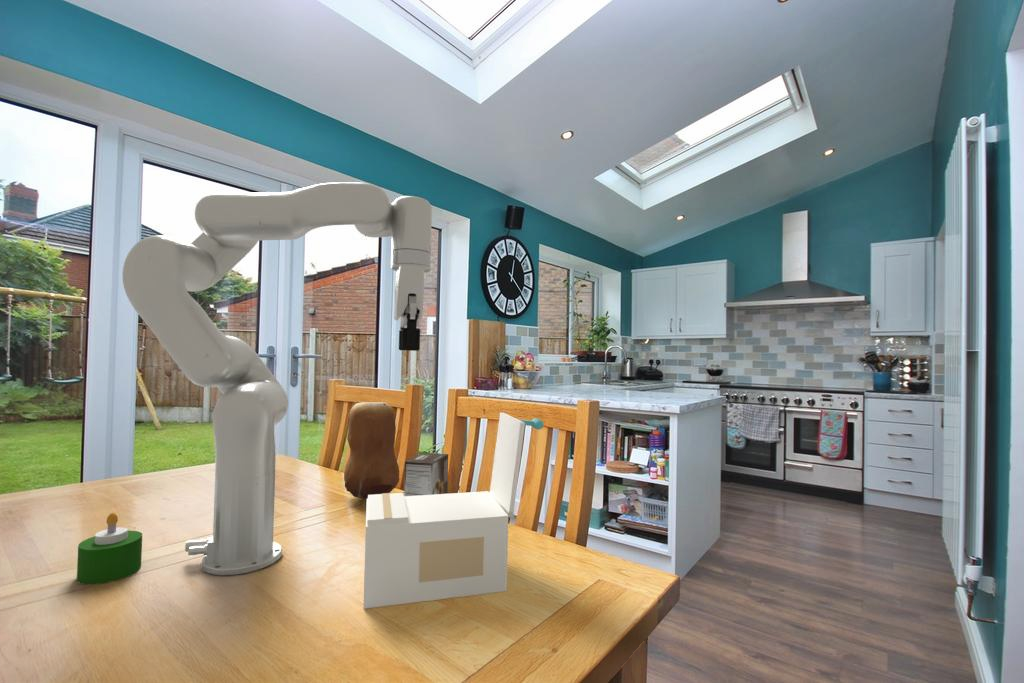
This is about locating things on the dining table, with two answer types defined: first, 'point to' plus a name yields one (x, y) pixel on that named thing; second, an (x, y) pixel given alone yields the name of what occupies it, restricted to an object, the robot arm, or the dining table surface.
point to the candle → (109, 554)
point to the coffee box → (426, 475)
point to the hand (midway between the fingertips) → (408, 350)
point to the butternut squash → (371, 450)
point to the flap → (508, 460)
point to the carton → (433, 547)
